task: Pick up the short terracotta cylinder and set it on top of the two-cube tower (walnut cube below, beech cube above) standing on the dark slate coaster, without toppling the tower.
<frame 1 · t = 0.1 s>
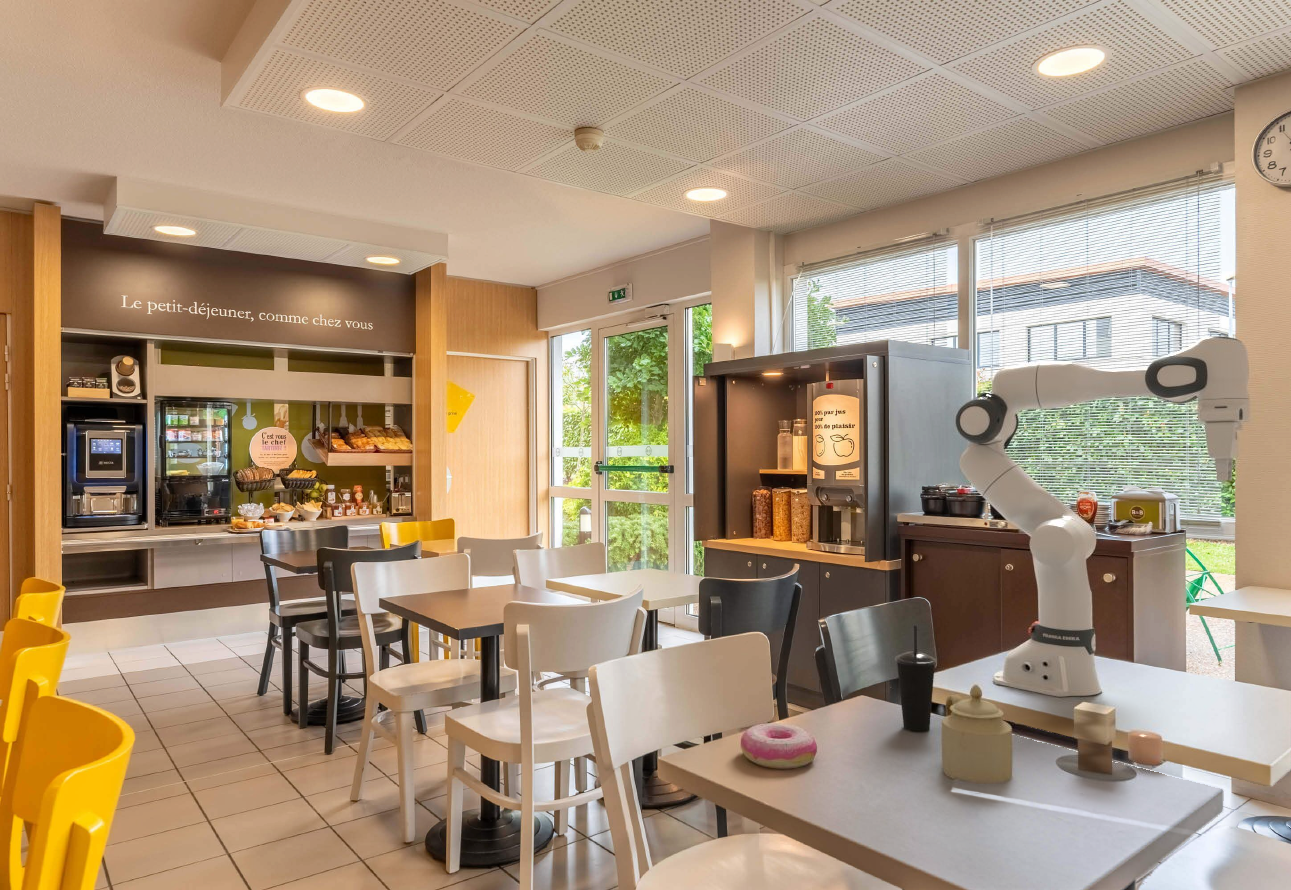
hand: (1224, 480, 172), 48 cm above the table, fingers open, 8 cm apart
terracotta cylinder: (1145, 763, 143), on the table
donut: (778, 760, 147), on the table
drinking cup: (916, 729, 163), on the table
slate coaster: (1095, 770, 140), on the table
beech cube: (1094, 737, 140), point 6 cm above the table, touching walnut cube
walnut cube: (1095, 767, 140), point 1 cm above the table, touching beech cube, slate coaster
sugar bowl: (967, 771, 141), on the table
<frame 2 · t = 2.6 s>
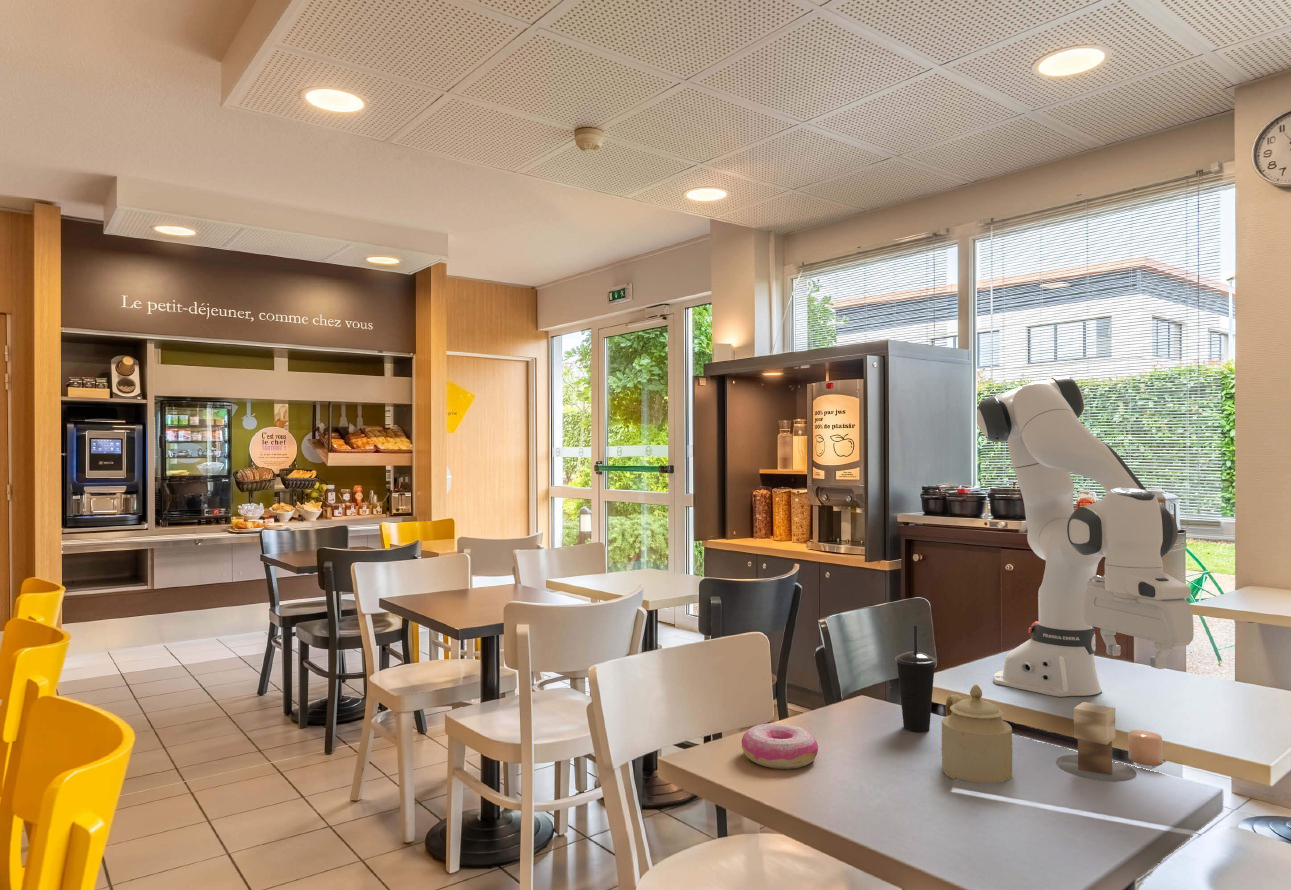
hand: (1135, 661, 144), 17 cm above the table, fingers open, 8 cm apart
nothing on the table moved.
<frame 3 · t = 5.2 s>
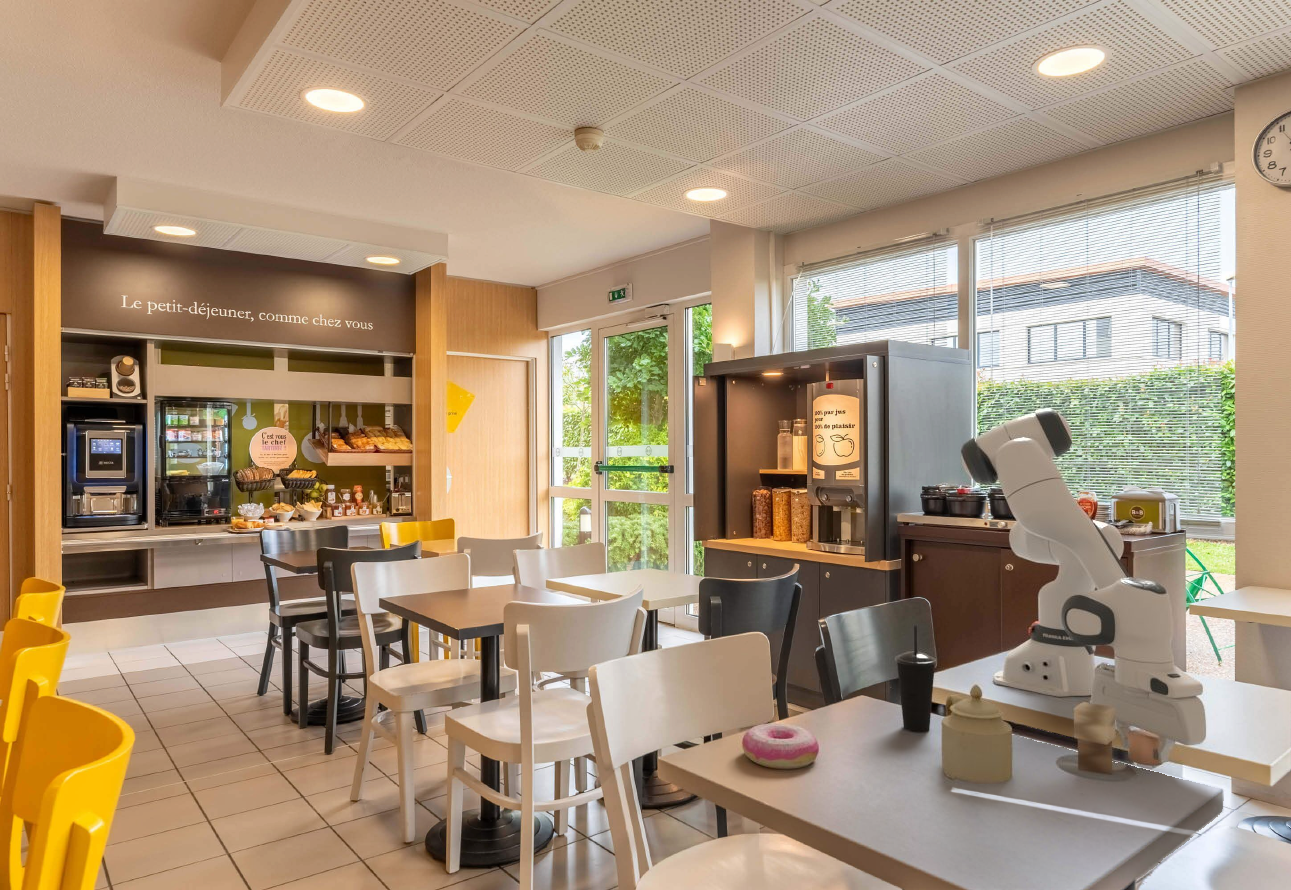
hand: (1145, 754, 143), 2 cm above the table, fingers closed on terracotta cylinder, 5 cm apart
terracotta cylinder: (1145, 763, 143), on the table, touching gripper
everything else where it was.
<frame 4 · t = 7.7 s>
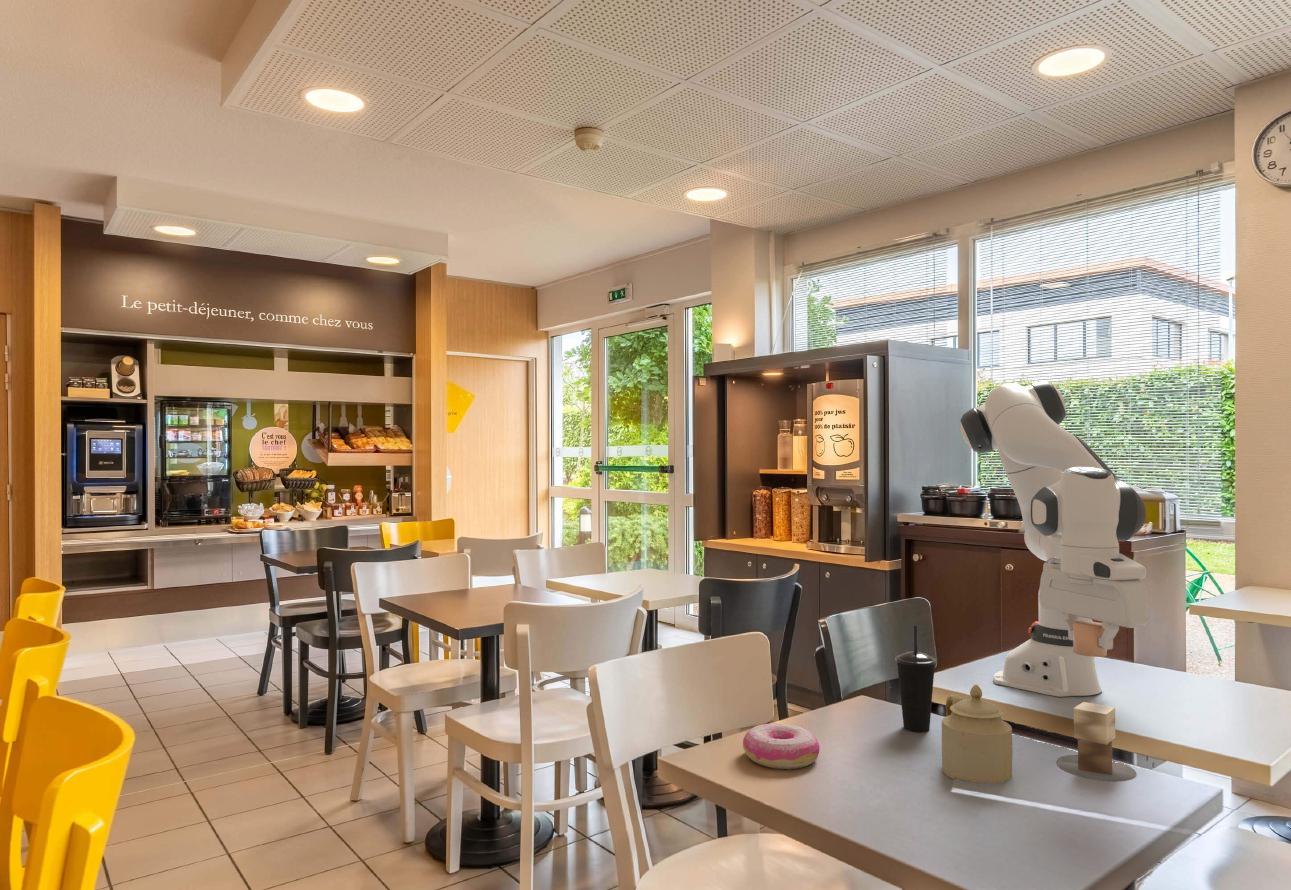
hand: (1090, 644, 141), 21 cm above the table, fingers closed on terracotta cylinder, 5 cm apart
terracotta cylinder: (1089, 653, 141), point 20 cm above the table, touching gripper
everything else where it was.
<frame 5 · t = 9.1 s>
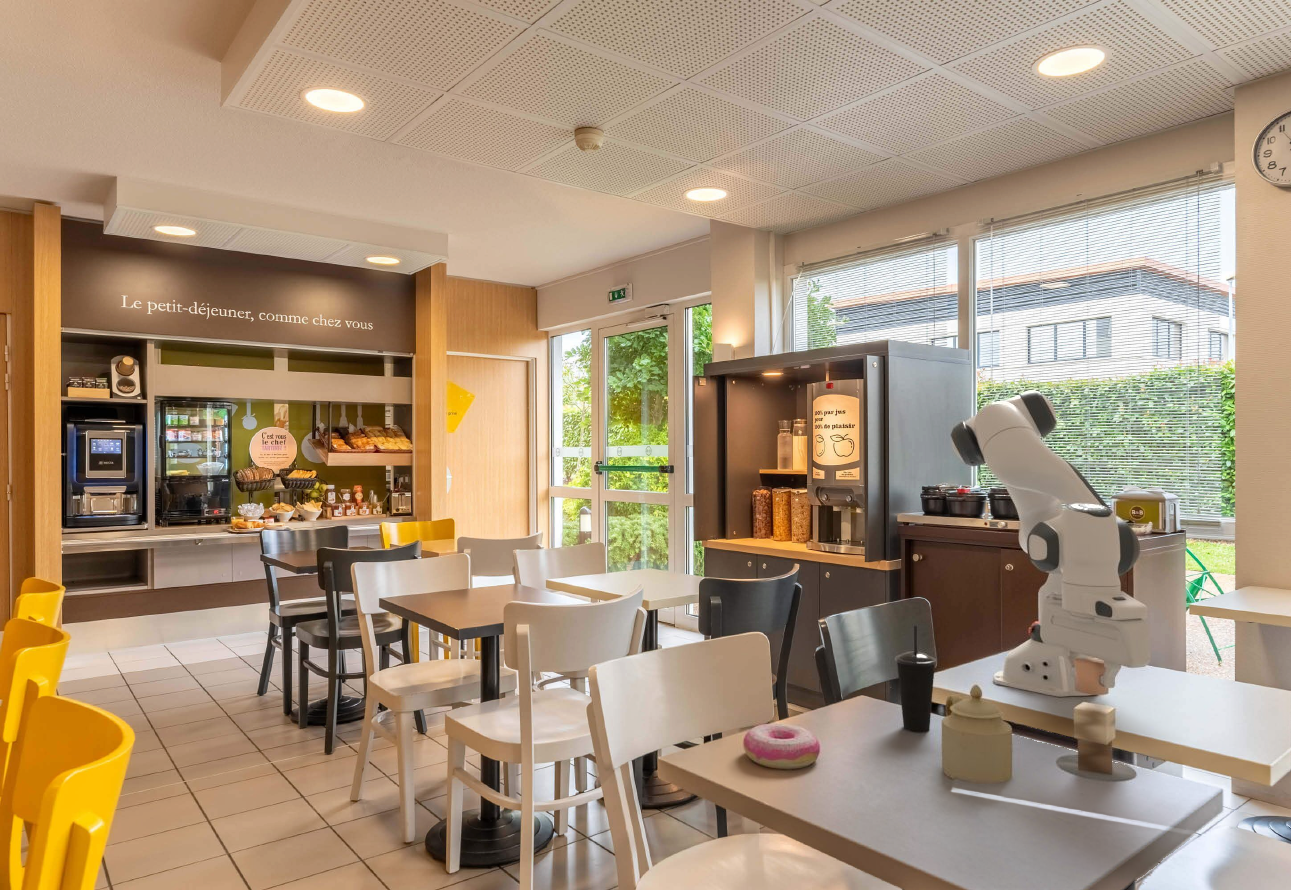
hand: (1091, 681, 140), 15 cm above the table, fingers closed on terracotta cylinder, 5 cm apart
terracotta cylinder: (1091, 690, 140), point 13 cm above the table, touching gripper
everything else where it was.
when the fingers open (13 cm above the table, at t = 10.4 s): terracotta cylinder drops 1 cm, resting on beech cube.
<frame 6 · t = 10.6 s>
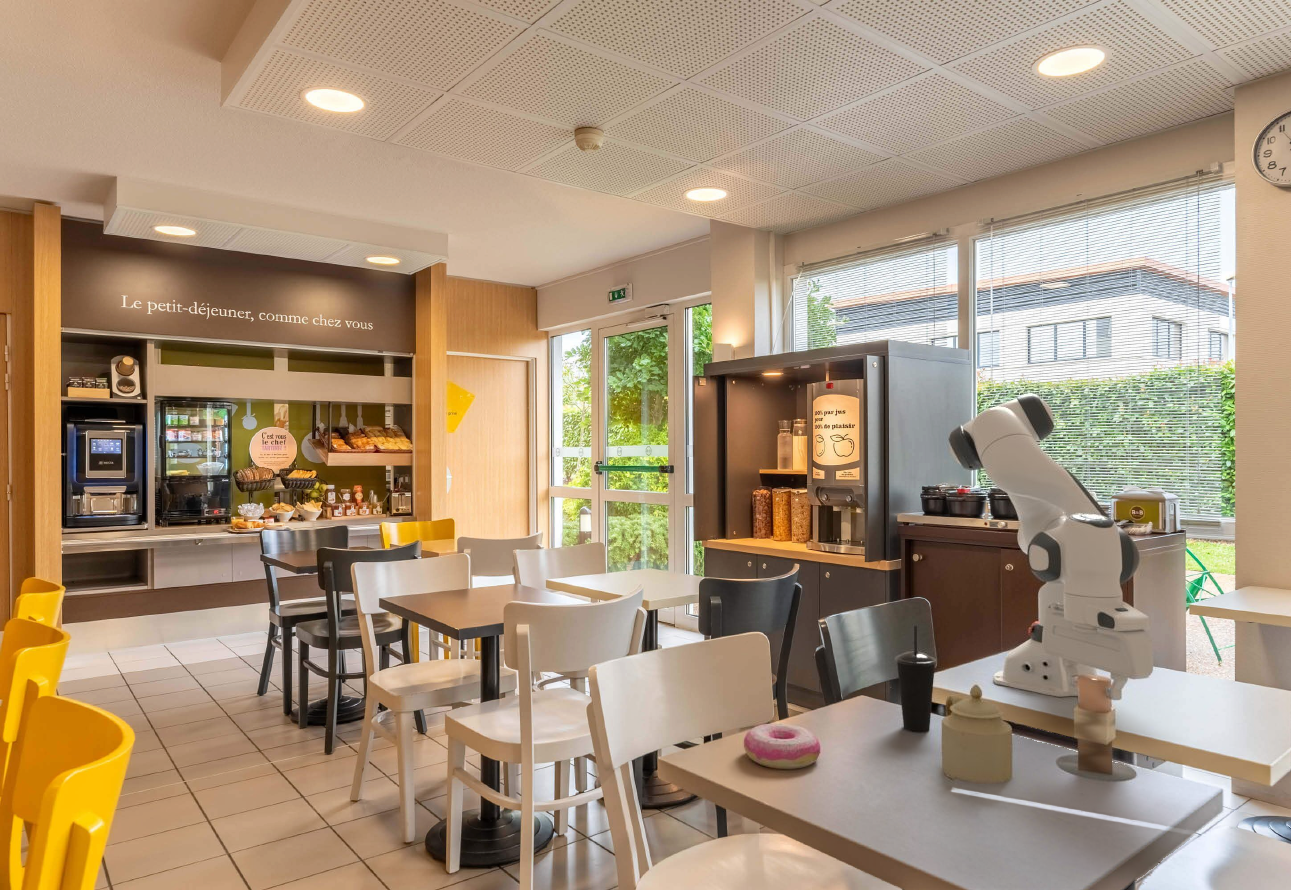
hand: (1094, 692, 140), 13 cm above the table, fingers open, 7 cm apart
terracotta cylinder: (1094, 707, 140), point 11 cm above the table, touching beech cube
beech cube: (1094, 737, 140), point 6 cm above the table, touching terracotta cylinder, walnut cube
everything else where it was.
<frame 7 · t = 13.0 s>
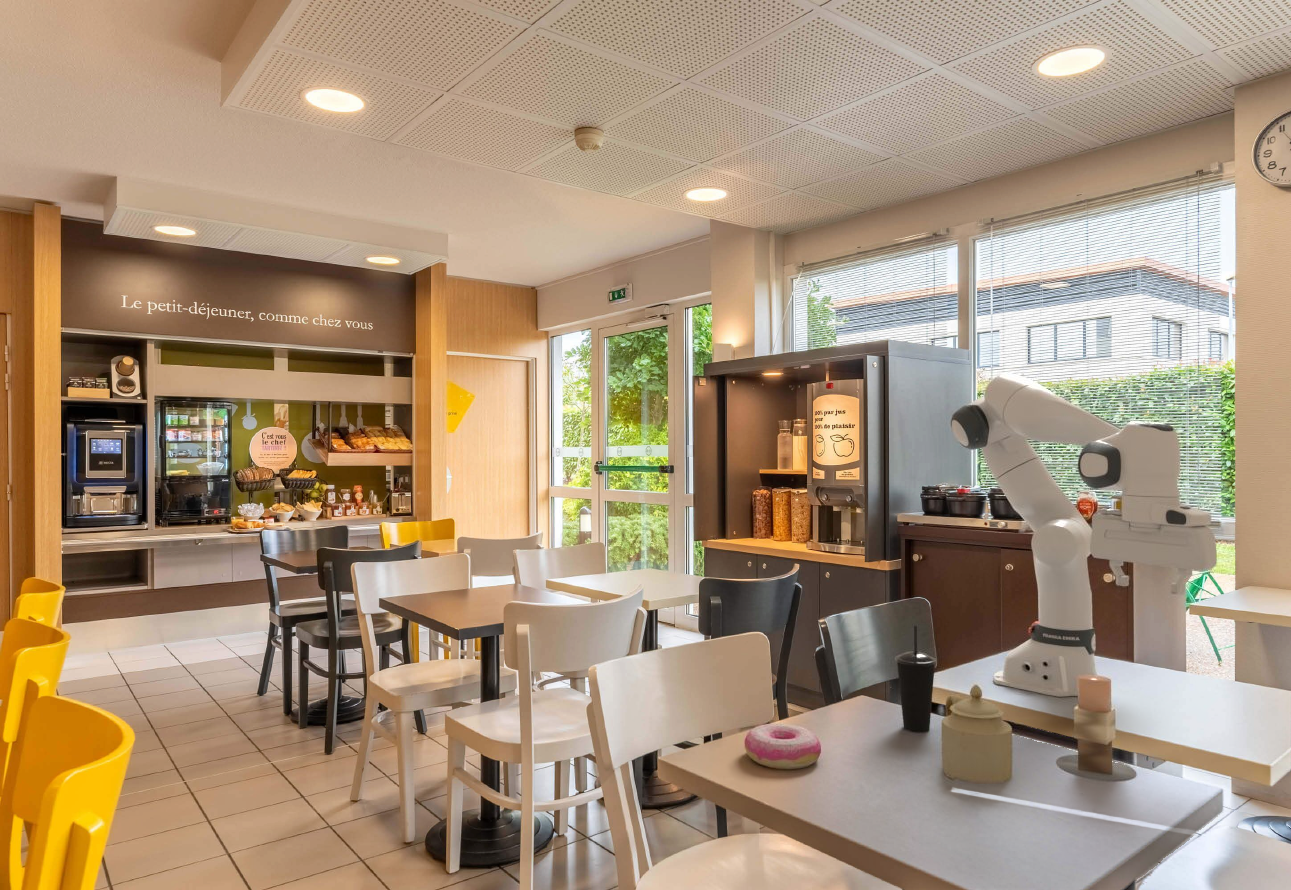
hand: (1149, 589, 147), 29 cm above the table, fingers open, 8 cm apart
nothing on the table moved.
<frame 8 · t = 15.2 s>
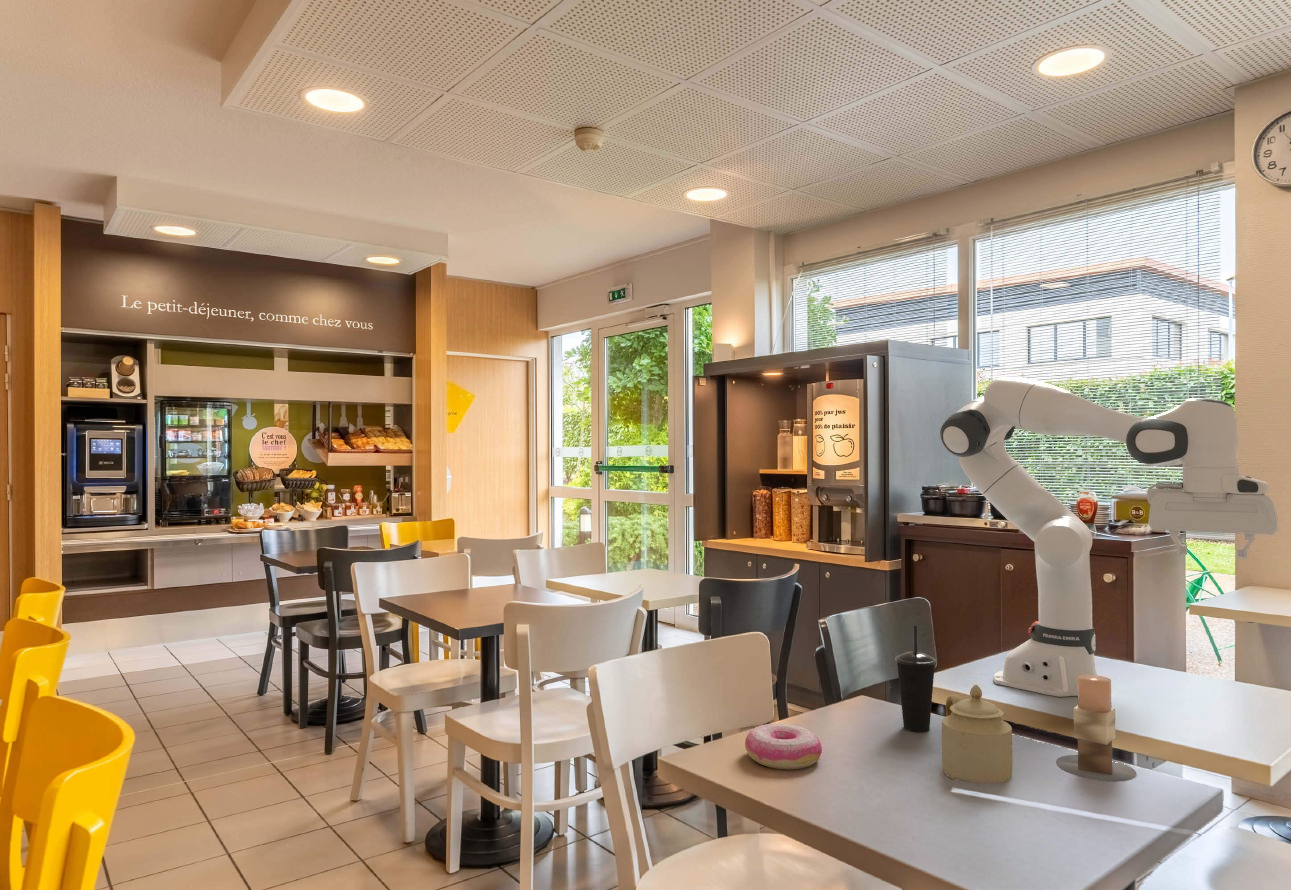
hand: (1211, 556, 156), 34 cm above the table, fingers open, 8 cm apart
nothing on the table moved.
at the end: terracotta cylinder 0.1 cm off-centre on the beech cube, point 5.0 cm above the beech cube's base; beech cube tilted 0°; terracotta cylinder tilted 0° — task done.
